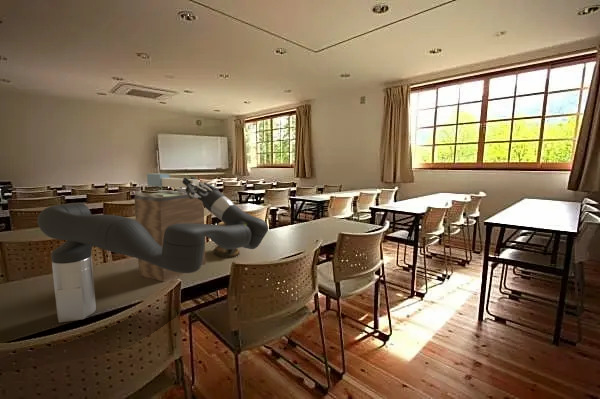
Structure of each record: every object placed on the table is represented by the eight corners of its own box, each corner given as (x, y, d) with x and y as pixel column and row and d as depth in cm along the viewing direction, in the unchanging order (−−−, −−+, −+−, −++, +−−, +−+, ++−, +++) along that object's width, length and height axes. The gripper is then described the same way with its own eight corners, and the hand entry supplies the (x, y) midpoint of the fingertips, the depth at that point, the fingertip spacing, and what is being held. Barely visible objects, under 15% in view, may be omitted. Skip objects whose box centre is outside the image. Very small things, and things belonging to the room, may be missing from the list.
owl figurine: (207, 250, 150) (206, 217, 148) (228, 246, 158) (228, 215, 156) (222, 260, 137) (221, 224, 134) (245, 255, 144) (245, 221, 142)
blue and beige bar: (200, 187, 109) (200, 175, 109) (191, 188, 105) (191, 175, 105) (157, 184, 119) (156, 173, 118) (147, 185, 115) (146, 173, 114)
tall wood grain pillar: (205, 263, 132) (203, 189, 127) (163, 281, 112) (159, 195, 107) (182, 258, 137) (179, 188, 133) (139, 275, 118) (134, 192, 113)
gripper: (236, 194, 108) (204, 170, 114) (209, 199, 96) (175, 171, 101) (228, 211, 111) (198, 186, 116) (201, 217, 98) (168, 189, 103)
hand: (187, 179), depth 109 cm, fingers closed on blue and beige bar, 3 cm apart
